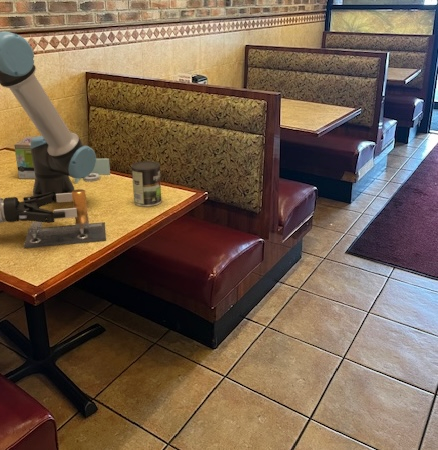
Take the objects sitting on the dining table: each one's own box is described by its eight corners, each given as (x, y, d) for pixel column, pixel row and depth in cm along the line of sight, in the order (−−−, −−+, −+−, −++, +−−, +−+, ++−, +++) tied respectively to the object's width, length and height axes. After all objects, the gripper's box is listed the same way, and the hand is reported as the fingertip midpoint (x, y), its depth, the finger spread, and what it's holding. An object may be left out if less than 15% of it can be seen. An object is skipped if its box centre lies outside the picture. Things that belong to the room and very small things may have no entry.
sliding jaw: (76, 225, 162) (72, 189, 157) (89, 224, 162) (85, 188, 157) (75, 236, 154) (71, 199, 149) (89, 235, 155) (84, 198, 150)
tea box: (42, 179, 207) (37, 144, 201) (18, 179, 207) (12, 144, 201) (54, 168, 220) (49, 135, 214) (31, 168, 220) (26, 135, 214)
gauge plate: (28, 231, 160) (27, 221, 159) (105, 225, 165) (104, 214, 164) (24, 248, 150) (22, 237, 148) (106, 240, 155) (105, 229, 153)
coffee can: (165, 197, 188) (163, 161, 182) (156, 207, 179) (154, 170, 173) (139, 195, 190) (137, 160, 184) (129, 205, 181) (126, 168, 175)
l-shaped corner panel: (75, 184, 202) (73, 167, 199) (82, 175, 213) (80, 158, 210) (104, 185, 203) (103, 167, 200) (110, 175, 214) (108, 158, 210)
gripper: (12, 206, 164) (78, 201, 169) (1, 238, 142) (77, 231, 147) (8, 184, 161) (76, 180, 166) (-4, 214, 139) (75, 207, 144)
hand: (77, 204), depth 156 cm, fingers open, 13 cm apart
